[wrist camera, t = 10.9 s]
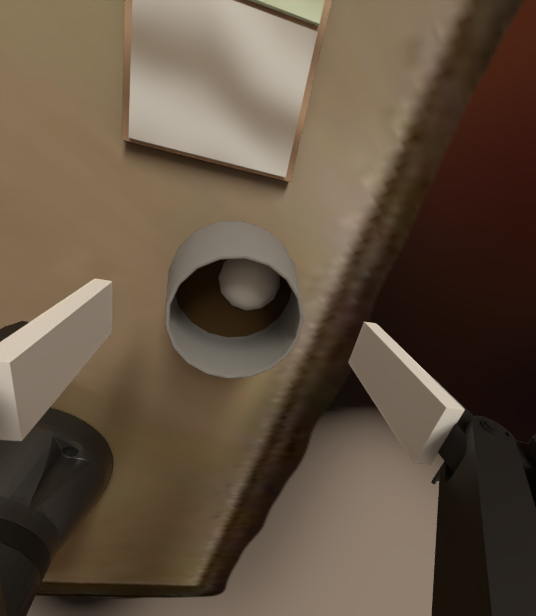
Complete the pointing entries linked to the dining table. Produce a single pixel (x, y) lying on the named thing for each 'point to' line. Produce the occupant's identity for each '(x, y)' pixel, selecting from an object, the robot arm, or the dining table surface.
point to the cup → (233, 300)
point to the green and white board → (222, 78)
